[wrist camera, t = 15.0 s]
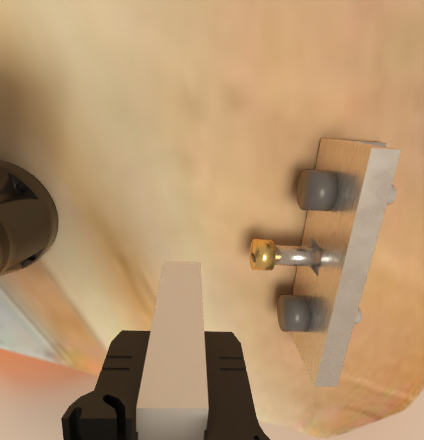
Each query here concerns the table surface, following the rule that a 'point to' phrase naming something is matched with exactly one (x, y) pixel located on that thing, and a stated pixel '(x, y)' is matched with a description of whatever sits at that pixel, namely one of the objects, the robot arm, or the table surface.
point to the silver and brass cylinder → (282, 255)
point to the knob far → (297, 313)
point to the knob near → (322, 190)
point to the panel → (341, 251)
